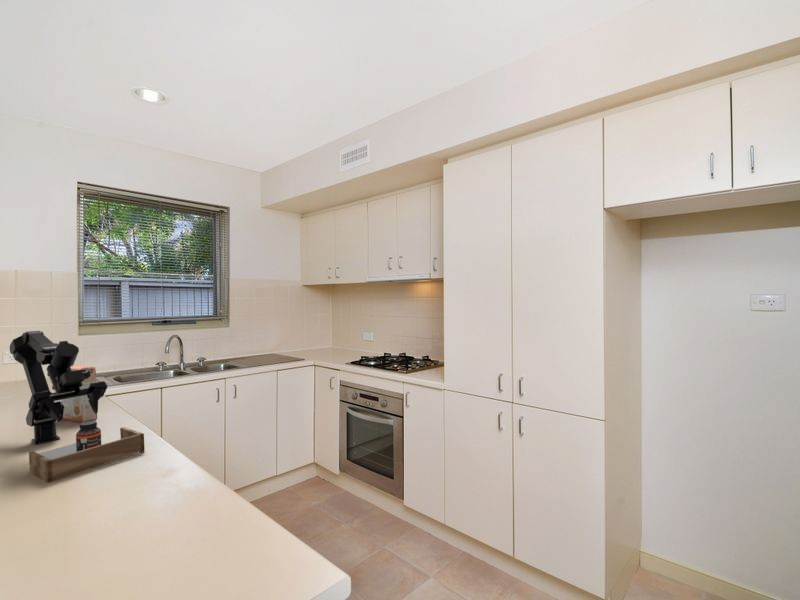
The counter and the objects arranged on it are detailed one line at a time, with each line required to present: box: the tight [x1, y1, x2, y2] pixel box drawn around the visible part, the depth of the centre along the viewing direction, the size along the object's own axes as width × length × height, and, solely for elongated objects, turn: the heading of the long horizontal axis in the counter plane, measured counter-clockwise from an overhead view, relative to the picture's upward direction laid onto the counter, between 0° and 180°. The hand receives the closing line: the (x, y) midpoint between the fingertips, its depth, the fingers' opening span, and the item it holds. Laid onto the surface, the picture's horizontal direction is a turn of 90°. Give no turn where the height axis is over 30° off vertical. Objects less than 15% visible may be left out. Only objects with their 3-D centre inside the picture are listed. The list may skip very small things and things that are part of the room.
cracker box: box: [60, 365, 98, 424], centre depth 164 cm, size 14×6×21 cm, turn 65°
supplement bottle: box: [75, 420, 102, 452], centre depth 122 cm, size 6×6×11 cm
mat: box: [37, 442, 76, 459], centre depth 129 cm, size 14×14×1 cm
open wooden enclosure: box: [28, 426, 145, 483], centre depth 122 cm, size 13×24×6 cm, turn 148°
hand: (79, 417), depth 125 cm, fingers open, 9 cm apart
